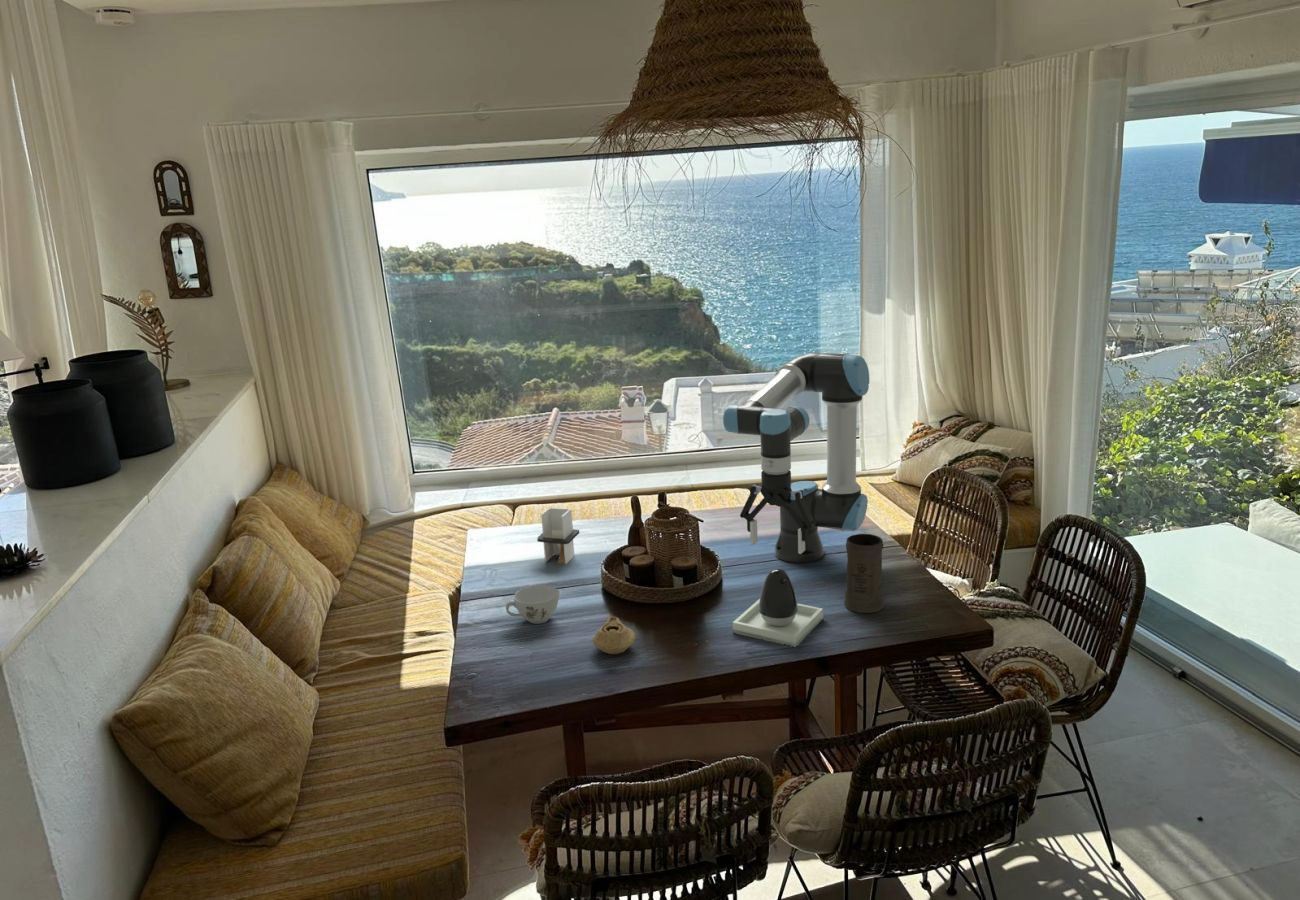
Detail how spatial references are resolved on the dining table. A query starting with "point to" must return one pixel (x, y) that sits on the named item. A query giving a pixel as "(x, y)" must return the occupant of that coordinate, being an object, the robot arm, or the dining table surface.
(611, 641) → the oil lamp
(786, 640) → the tray
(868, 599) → the beer stein
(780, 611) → the dark grey rounded piece
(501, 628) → the dining table surface
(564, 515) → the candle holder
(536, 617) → the teacup
